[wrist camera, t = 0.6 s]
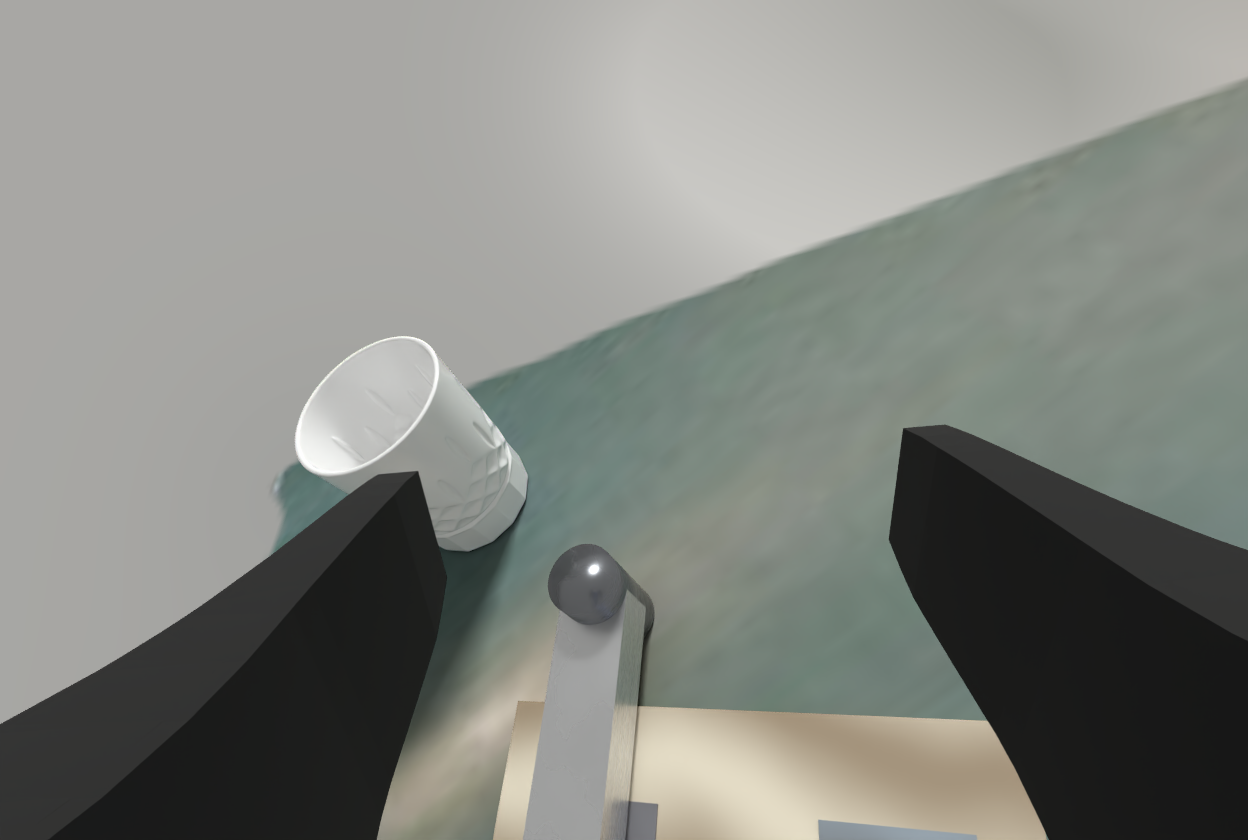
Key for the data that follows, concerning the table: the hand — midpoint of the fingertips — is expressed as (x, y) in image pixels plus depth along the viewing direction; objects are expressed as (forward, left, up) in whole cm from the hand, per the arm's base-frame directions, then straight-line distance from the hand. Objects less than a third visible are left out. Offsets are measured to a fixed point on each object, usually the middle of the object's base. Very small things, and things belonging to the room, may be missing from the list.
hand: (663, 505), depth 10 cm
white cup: (+12, +19, -20) cm, 30 cm away
